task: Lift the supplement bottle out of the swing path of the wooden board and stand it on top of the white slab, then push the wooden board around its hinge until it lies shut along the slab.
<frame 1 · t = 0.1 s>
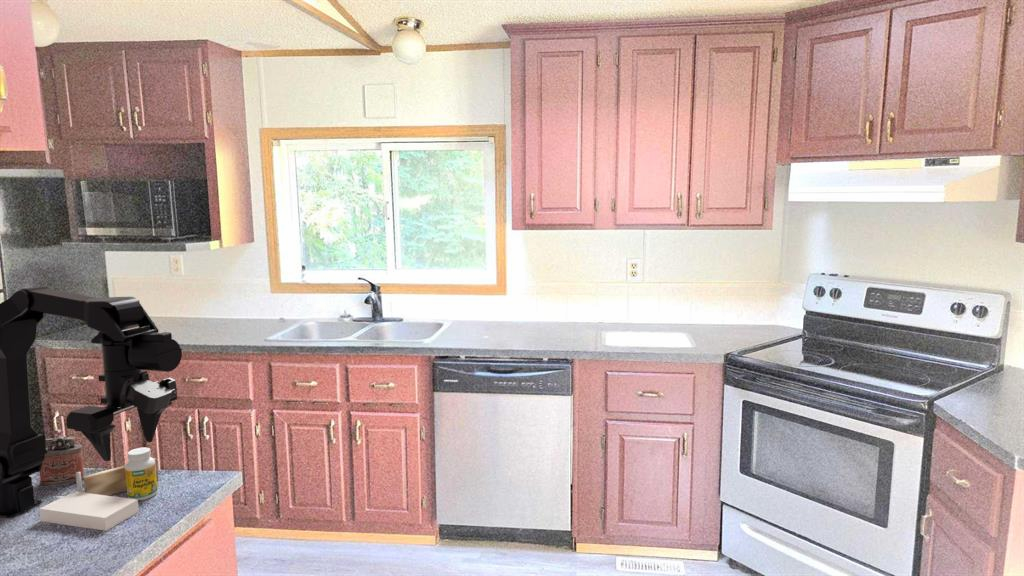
hand: (129, 450, 113), 15 cm above the worktop, tool pointing down, fingers open, 9 cm apart
white slab: (90, 516, 118), on the worktop
supplement bottle: (142, 496, 127), on the worktop
wooden board: (122, 478, 128), point 3 cm above the worktop, hinge at 60.0°
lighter: (62, 482, 133), on the worktop
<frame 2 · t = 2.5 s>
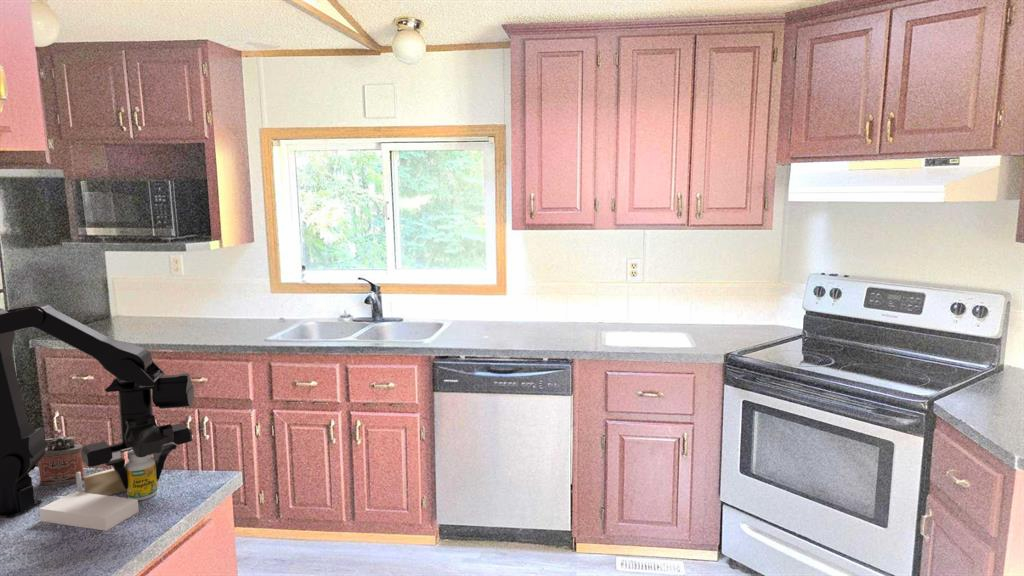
hand: (141, 483, 127), 3 cm above the worktop, tool pointing down, fingers closed on supplement bottle, 5 cm apart
supplement bottle: (142, 496, 127), on the worktop, touching gripper
everything else where it was.
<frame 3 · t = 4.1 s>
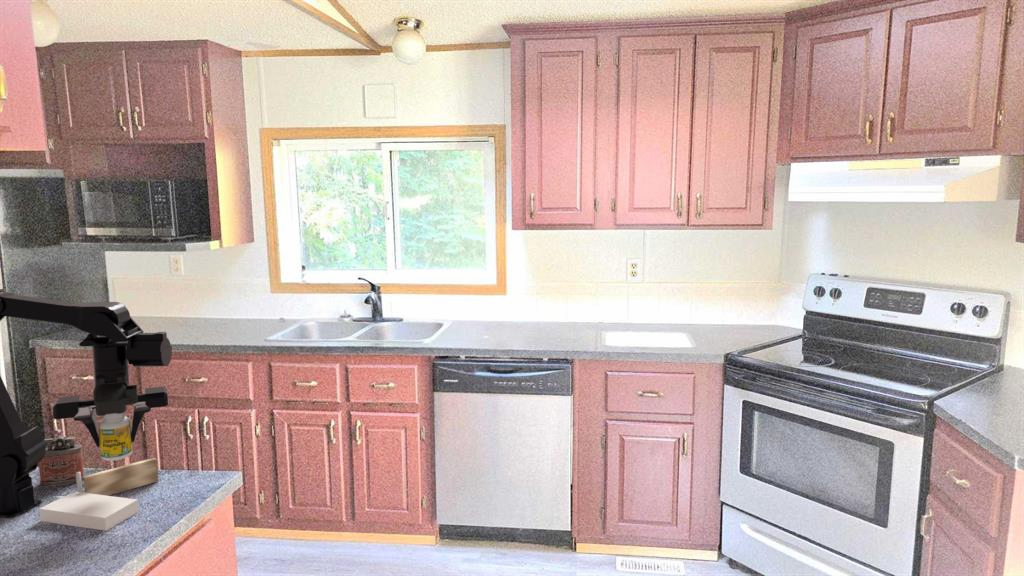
hand: (115, 443, 123), 12 cm above the worktop, tool pointing down, fingers closed on supplement bottle, 5 cm apart
supplement bottle: (116, 456, 123), point 9 cm above the worktop, touching gripper
everything else where it was.
when the fingers open (6 cm above the worktop, at t = 6.1 s): supplement bottle drops 1 cm, resting on white slab.
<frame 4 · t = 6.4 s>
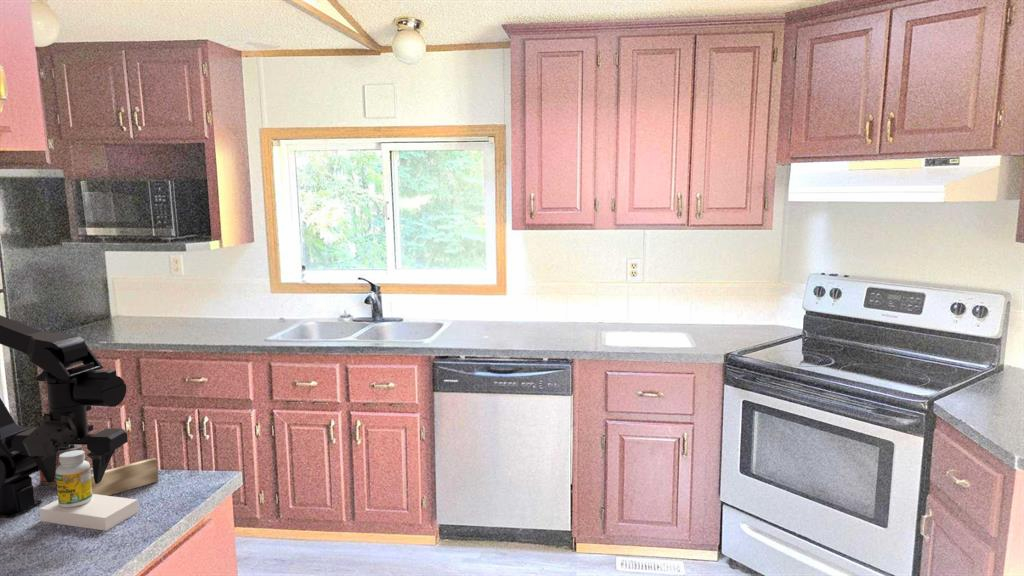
hand: (74, 482, 118), 6 cm above the worktop, tool pointing down, fingers open, 9 cm apart
supplement bottle: (75, 503, 119), point 2 cm above the worktop, touching white slab
everything else where it was.
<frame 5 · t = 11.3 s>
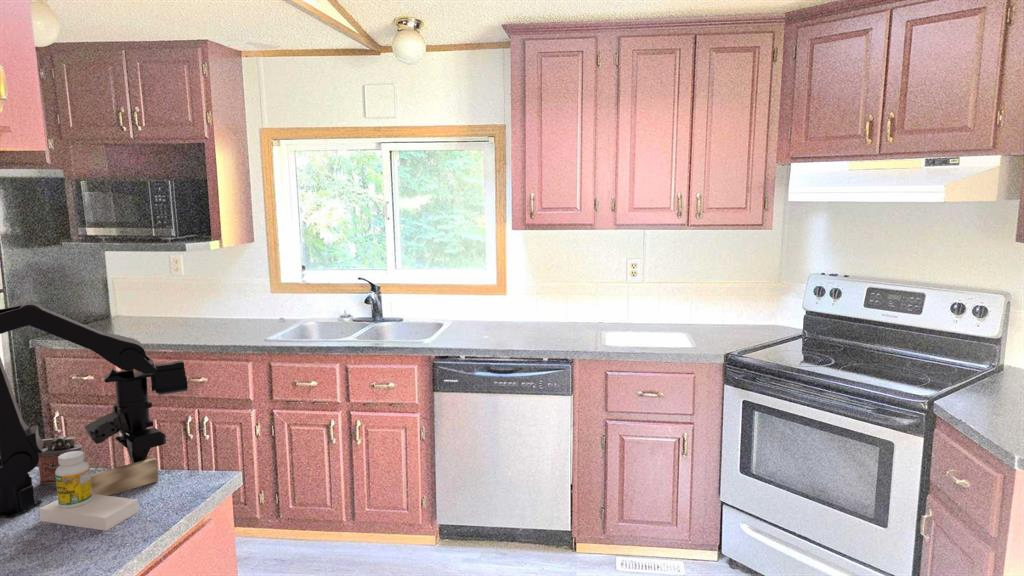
hand: (137, 469, 132), 3 cm above the worktop, tool pointing down, fingers closed
wooden board: (122, 478, 128), point 3 cm above the worktop, hinge at 60.0°, touching gripper
everything else where it was.
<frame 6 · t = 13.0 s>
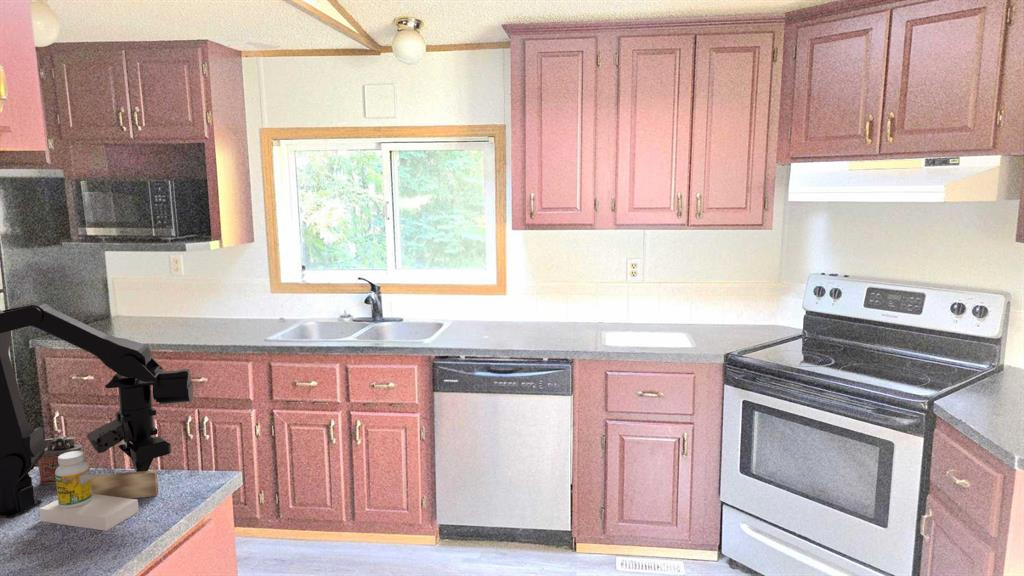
hand: (141, 478, 128), 3 cm above the worktop, tool pointing down, fingers closed
wooden board: (121, 485, 125), point 3 cm above the worktop, hinge at 25.9°, touching gripper
everything else where it was.
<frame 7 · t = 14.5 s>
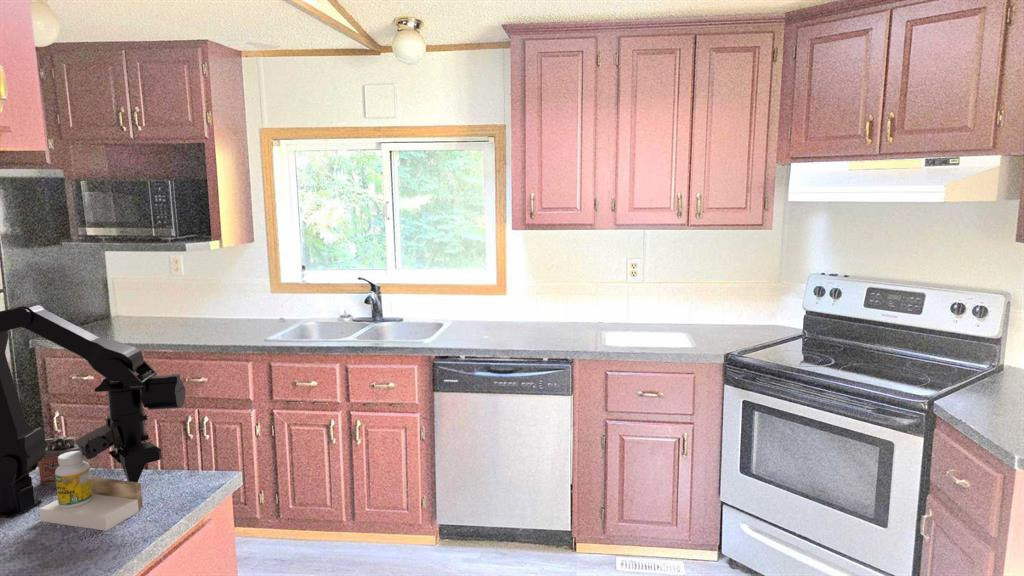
hand: (132, 485, 124), 3 cm above the worktop, tool pointing down, fingers closed
wooden board: (111, 492, 122), point 3 cm above the worktop, hinge at -0.4°
everything else where it was.
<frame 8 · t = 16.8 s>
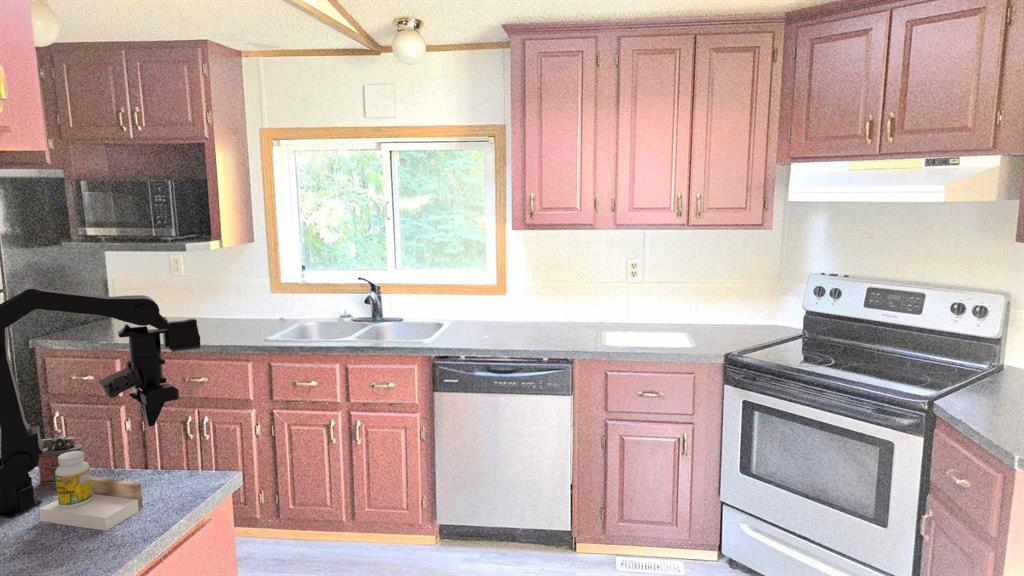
hand: (151, 425, 133), 12 cm above the worktop, tool pointing down, fingers closed
nothing on the worktop moved.
at the end: wooden board at +0° (first picture: +60°); supplement bottle inside the target area (0.6 cm from its centre), point 2.3 cm above the worktop; supplement bottle tilted 0° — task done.
